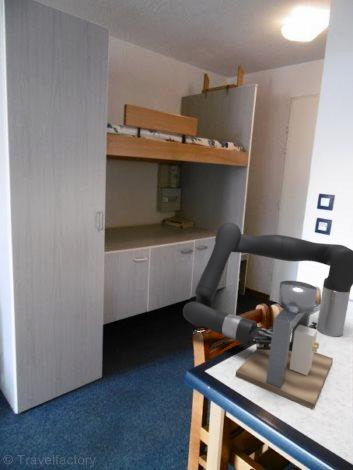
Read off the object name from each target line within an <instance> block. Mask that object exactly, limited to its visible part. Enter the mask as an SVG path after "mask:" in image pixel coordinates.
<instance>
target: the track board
mask: <svg viewBox="0 0 353 470" xmlns="http://www.w3.org/2000/svg"><path fill="white" fill-rule="evenodd" d="M291 354H292V352H291V351H289V352H288V359H287V366H286V373H285V380H284V384H283V386H282V387H281V389H280V388H278V387H275V386H273V385H270V384H268V383H266V378H267V370H268V363H269V355H270V350H259V349H255V350H253V352H252V353H251V354H250V355H249V357H248V358H247V359H246V360H245V361H244V362H243V363H242V364H241V365H240V366H239V368H238V369H236V371H235V377H237V378H239V379H241V380H244V381H246V382H249V384H253V385H255V386H257V387H259V388H263V389H265V390H267V391H270V392H272V393H274V394H276V395H279V396H281V397H283V398H286V399H288V400H291V401H292V402H295V403H298V404H300V405H303V406H304V407H307V408H309V409H311V410H314V409H315V407H316V404H317V401H318V399H319V396H320V394H321V392H322V389H323V387H324V384H325V381H326V379H327V377H328V375H329V371H330V370H331V366H332V365H333V361H334V358H333V357H330V356H327V355H326V354H325V355H324V354H321V353H318V352H314V354H313V360H312V366H311V369H310V371H309V373H308V375H304V374H301V373H299V372H296V371H294V370H291V369H289V368H290V361H291Z"/></svg>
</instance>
